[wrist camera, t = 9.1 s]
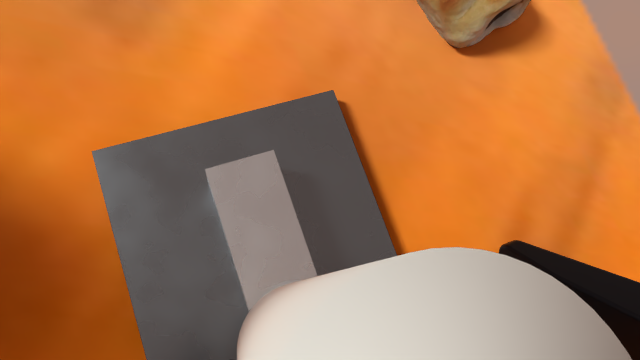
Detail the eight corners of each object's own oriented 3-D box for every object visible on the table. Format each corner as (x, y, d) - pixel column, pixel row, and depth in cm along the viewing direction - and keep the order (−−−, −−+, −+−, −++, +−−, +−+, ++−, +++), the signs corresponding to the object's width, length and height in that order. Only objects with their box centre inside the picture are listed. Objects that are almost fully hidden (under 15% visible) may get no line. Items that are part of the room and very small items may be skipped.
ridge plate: (493, 528, 20) (545, 575, 17) (237, 680, 17) (237, 774, 14) (329, 98, 24) (344, 66, 21) (98, 158, 21) (72, 131, 18)
